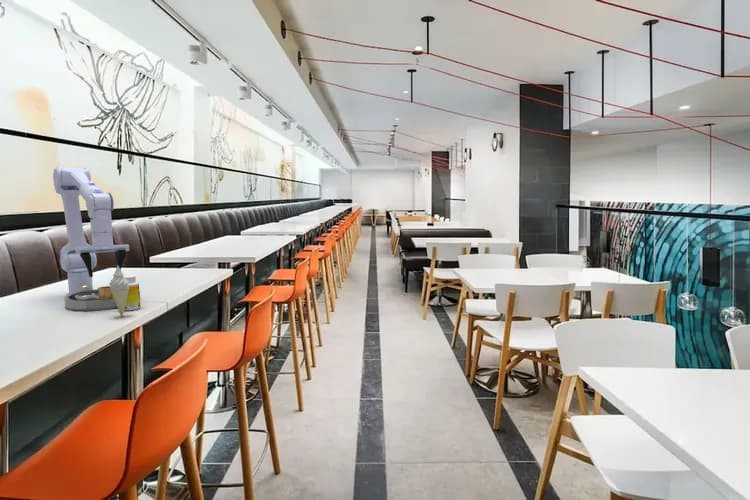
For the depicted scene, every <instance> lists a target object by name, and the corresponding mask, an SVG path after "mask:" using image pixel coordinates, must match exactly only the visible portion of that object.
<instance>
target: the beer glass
mask: <svg viewBox="0 0 750 500" xmlns="http://www.w3.org/2000/svg"><path fill="white" fill-rule="evenodd" d="M124 277H125V278H126V279H127V281H128V282H129V284H128V285H129V286H128V287H129V291H128V296H127V300H126V304H125V309H124V312H125V311H128V312H129V311H135V310H138V309H140V308H141V291H140V283H139V282H138V281H137V277H136V275H133V274H129V275H128V274H126V275H124ZM139 291H140V292H139Z"/></svg>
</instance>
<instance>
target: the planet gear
mask: <svg viewBox="0 0 750 500" xmlns="http://www.w3.org/2000/svg"><path fill="white" fill-rule="evenodd" d="M97 289H98V297H95V300H104V299H112V298H114V297H113V295H112V292H111V290H110V289H111V288H110V285H106V286H100V287H97Z"/></svg>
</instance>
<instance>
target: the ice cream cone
mask: <svg viewBox="0 0 750 500" xmlns="http://www.w3.org/2000/svg"><path fill="white" fill-rule="evenodd" d="M112 276H113V277H112V279H111V280H110V282H109V283H108V284H109V286H110V288H111V289H110V290H111V292H112V295H113V297H114V300H115V302H116V305H117V307H118V308H117V309H118V312H119V315H120V317H123V316H124V313H125V311H124V309H125V304H126V300H127V296H128V291H129V287H128V286H129V285H128V284H129V282H128V281H127V279H126V278H125V277H124V276H125V274H124V272H123V271H122V269H121V270H120V268H119V266H118V265H117V268H115V271H114V273H113V275H112Z"/></svg>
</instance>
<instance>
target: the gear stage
mask: <svg viewBox="0 0 750 500" xmlns="http://www.w3.org/2000/svg"><path fill="white" fill-rule="evenodd" d="M139 292H140V293H141V291H140V290H139ZM95 297H98V288H97V289H93V290H92V285H91V284H83V285H78V286H77V293H73V294H70V295H68V296H67V295H66V296H64V306H65V309H66V310H69V311H73V312H96V311H98V312H99V311H108V310H115V309H118V307H117V305H116V302H115V300H114V298H112V299H104V300H95Z"/></svg>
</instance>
